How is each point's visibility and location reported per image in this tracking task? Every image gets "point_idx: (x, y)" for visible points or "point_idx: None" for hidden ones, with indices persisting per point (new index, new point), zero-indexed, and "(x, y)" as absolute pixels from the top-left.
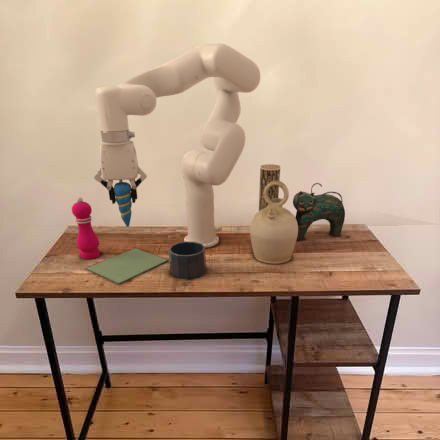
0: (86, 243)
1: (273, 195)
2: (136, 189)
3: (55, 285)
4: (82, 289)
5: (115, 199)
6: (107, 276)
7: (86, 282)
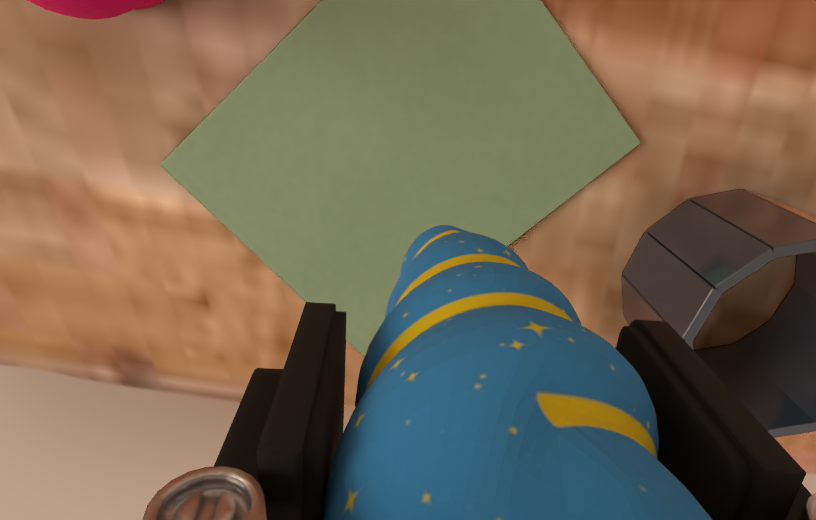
0: (75, 11)
1: None
2: (804, 494)
3: (56, 315)
4: (201, 370)
5: (342, 359)
6: (299, 286)
7: (202, 312)
